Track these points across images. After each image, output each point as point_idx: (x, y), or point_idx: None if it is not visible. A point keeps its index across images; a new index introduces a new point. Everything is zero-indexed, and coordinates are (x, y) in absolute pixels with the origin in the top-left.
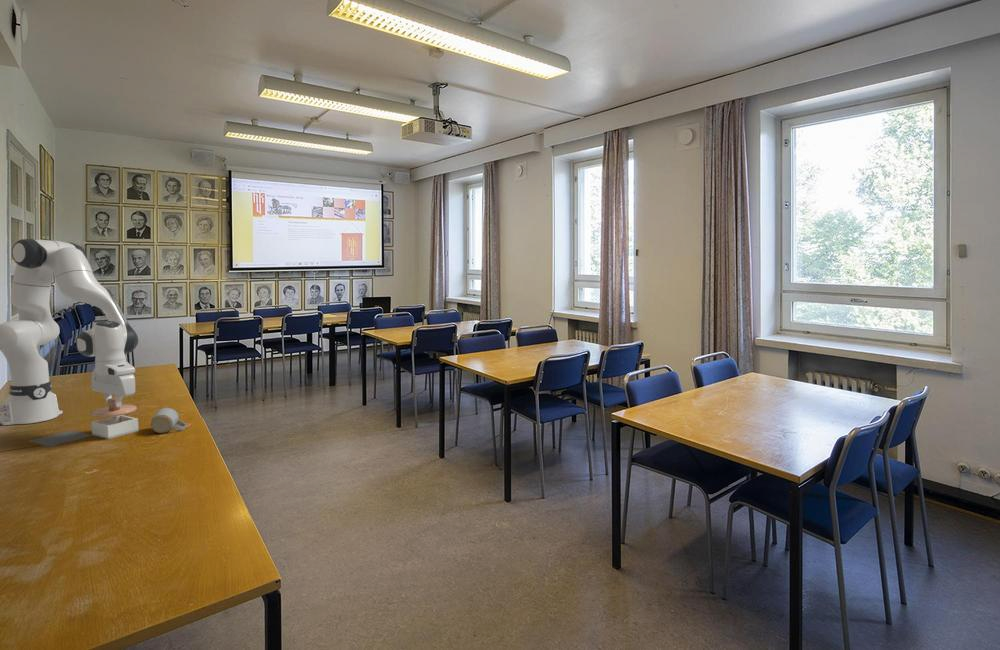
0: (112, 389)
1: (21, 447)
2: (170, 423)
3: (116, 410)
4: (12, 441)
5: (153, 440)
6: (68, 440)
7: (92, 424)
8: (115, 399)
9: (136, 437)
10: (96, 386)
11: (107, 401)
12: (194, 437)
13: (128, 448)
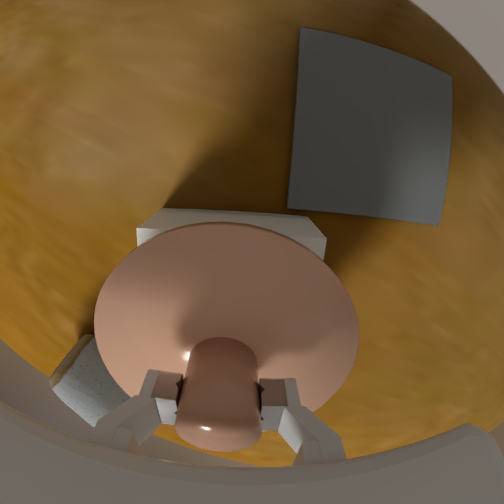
0: (88, 493)
1: (404, 21)
2: (56, 368)
3: (187, 356)
4: (484, 78)
5: (36, 278)
6: (319, 112)
7: (308, 232)
8: (129, 413)
9: None
10: (438, 480)
11: (277, 399)
12: (7, 332)
13: (17, 187)
